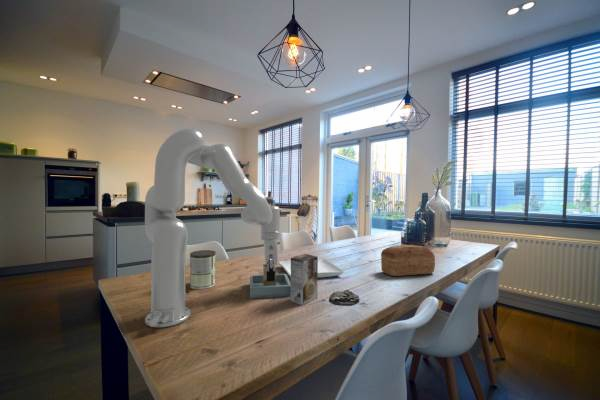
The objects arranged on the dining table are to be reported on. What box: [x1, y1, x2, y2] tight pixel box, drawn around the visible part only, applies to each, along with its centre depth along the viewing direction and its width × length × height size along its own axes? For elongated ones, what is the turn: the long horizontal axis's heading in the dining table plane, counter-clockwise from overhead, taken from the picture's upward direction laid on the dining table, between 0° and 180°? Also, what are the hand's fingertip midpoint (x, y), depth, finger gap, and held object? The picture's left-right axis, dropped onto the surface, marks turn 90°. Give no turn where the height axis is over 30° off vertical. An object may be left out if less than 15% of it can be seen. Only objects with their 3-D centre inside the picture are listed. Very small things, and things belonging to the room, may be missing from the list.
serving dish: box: [249, 273, 291, 299], centre depth 107 cm, size 16×16×4 cm
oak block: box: [262, 263, 277, 286], centre depth 107 cm, size 5×5×9 cm
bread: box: [380, 244, 436, 277], centre depth 134 cm, size 12×28×14 cm, turn 106°
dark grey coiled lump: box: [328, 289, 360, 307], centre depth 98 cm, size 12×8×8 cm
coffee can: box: [189, 249, 216, 290], centre depth 111 cm, size 10×10×14 cm
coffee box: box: [289, 253, 319, 306], centre depth 97 cm, size 9×6×16 cm
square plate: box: [278, 258, 345, 279], centre depth 134 cm, size 27×27×4 cm
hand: (269, 277), depth 107 cm, fingers open, 9 cm apart
